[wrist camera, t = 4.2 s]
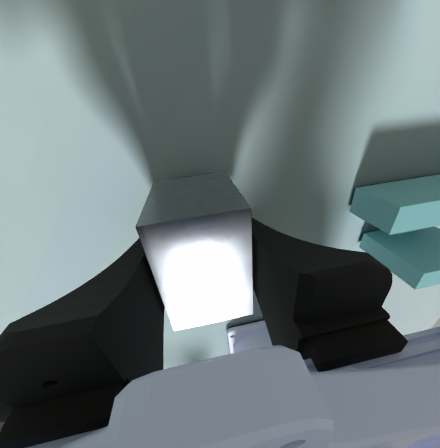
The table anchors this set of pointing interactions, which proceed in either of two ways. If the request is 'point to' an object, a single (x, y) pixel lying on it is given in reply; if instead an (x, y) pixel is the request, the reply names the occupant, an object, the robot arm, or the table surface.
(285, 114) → the table surface
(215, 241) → the steel block
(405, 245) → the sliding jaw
